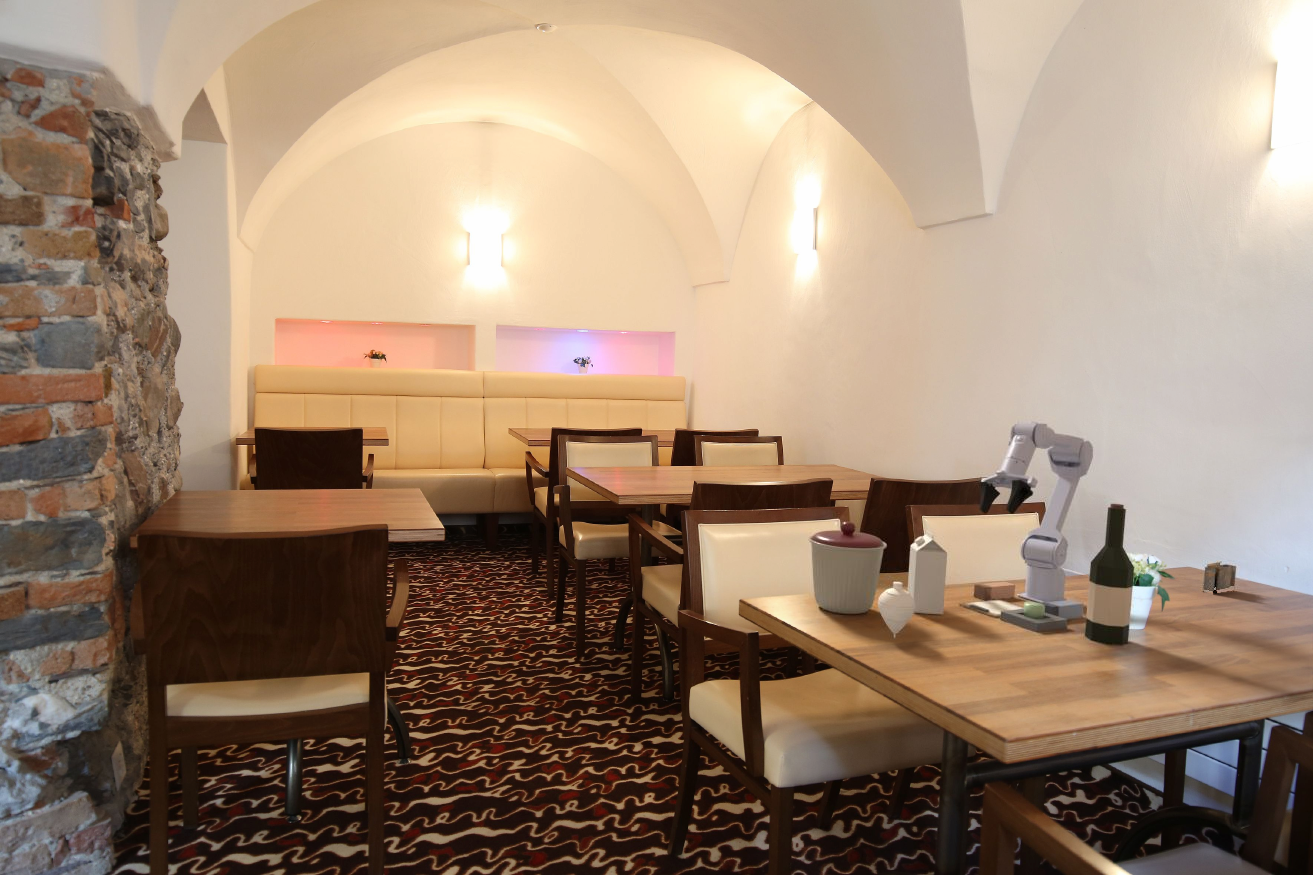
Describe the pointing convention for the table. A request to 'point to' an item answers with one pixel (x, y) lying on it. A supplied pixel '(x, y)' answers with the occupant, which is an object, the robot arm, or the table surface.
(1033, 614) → the button
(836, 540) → the canister
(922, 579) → the milk carton
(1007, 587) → the block
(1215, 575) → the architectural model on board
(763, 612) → the table surface
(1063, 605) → the grey rectangular bar
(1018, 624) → the button housing
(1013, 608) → the tan flat tray
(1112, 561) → the wine bottle
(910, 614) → the spinning top
